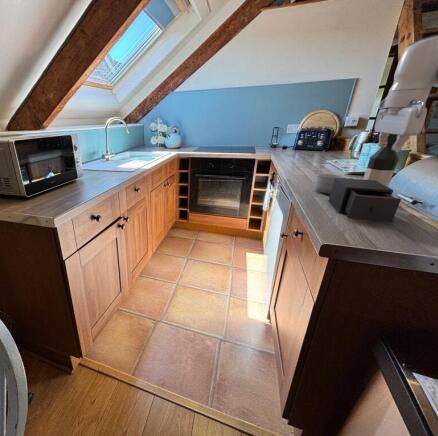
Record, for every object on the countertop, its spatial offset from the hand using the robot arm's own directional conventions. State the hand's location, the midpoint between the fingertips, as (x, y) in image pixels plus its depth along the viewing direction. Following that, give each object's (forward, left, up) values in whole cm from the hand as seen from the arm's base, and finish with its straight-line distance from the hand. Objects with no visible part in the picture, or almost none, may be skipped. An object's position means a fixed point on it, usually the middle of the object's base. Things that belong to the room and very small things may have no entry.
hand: (388, 148), depth 79 cm
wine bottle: (-17, -13, -22) cm, 31 cm away
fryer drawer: (+5, +3, -21) cm, 22 cm away
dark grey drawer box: (0, -4, -22) cm, 23 cm away
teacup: (-8, -23, -22) cm, 33 cm away
